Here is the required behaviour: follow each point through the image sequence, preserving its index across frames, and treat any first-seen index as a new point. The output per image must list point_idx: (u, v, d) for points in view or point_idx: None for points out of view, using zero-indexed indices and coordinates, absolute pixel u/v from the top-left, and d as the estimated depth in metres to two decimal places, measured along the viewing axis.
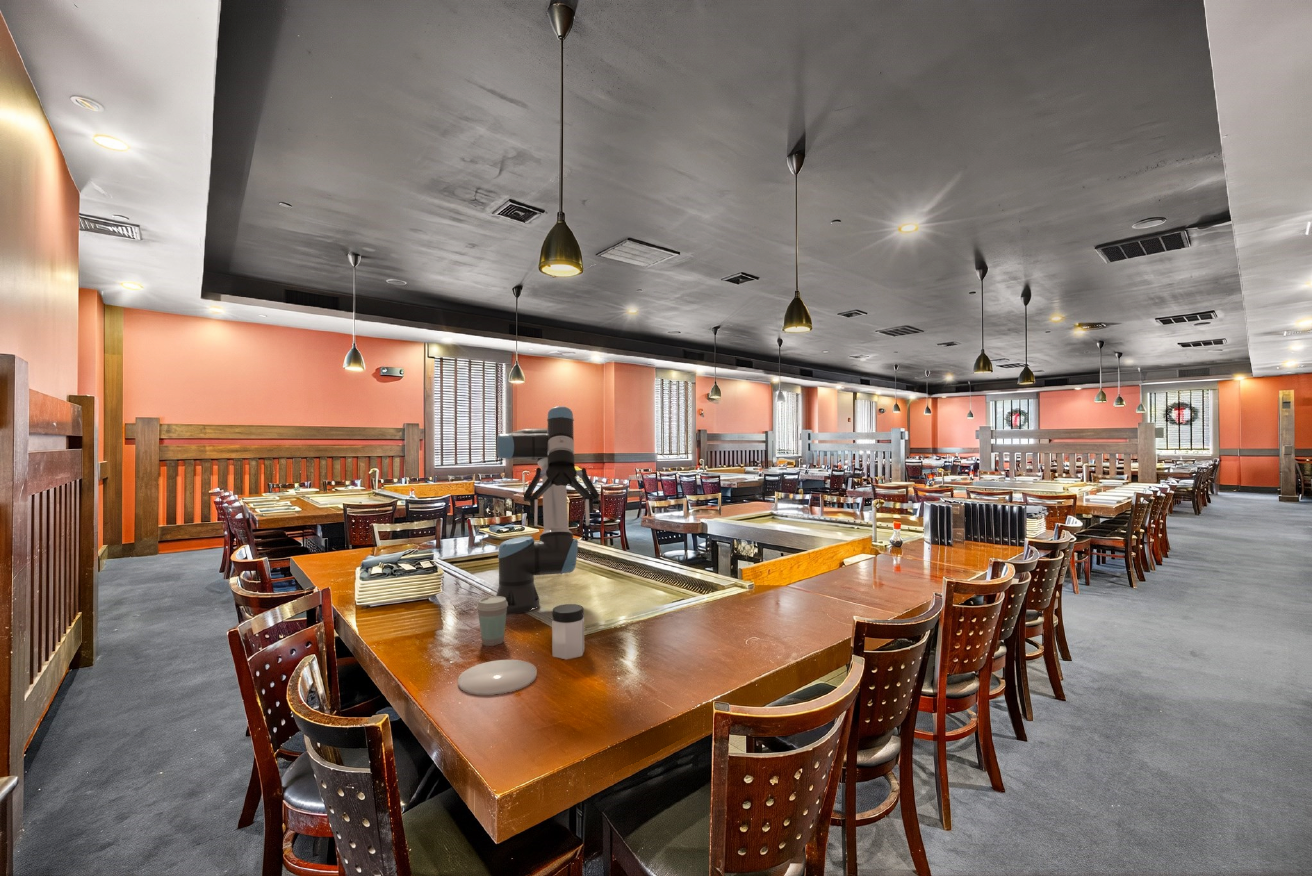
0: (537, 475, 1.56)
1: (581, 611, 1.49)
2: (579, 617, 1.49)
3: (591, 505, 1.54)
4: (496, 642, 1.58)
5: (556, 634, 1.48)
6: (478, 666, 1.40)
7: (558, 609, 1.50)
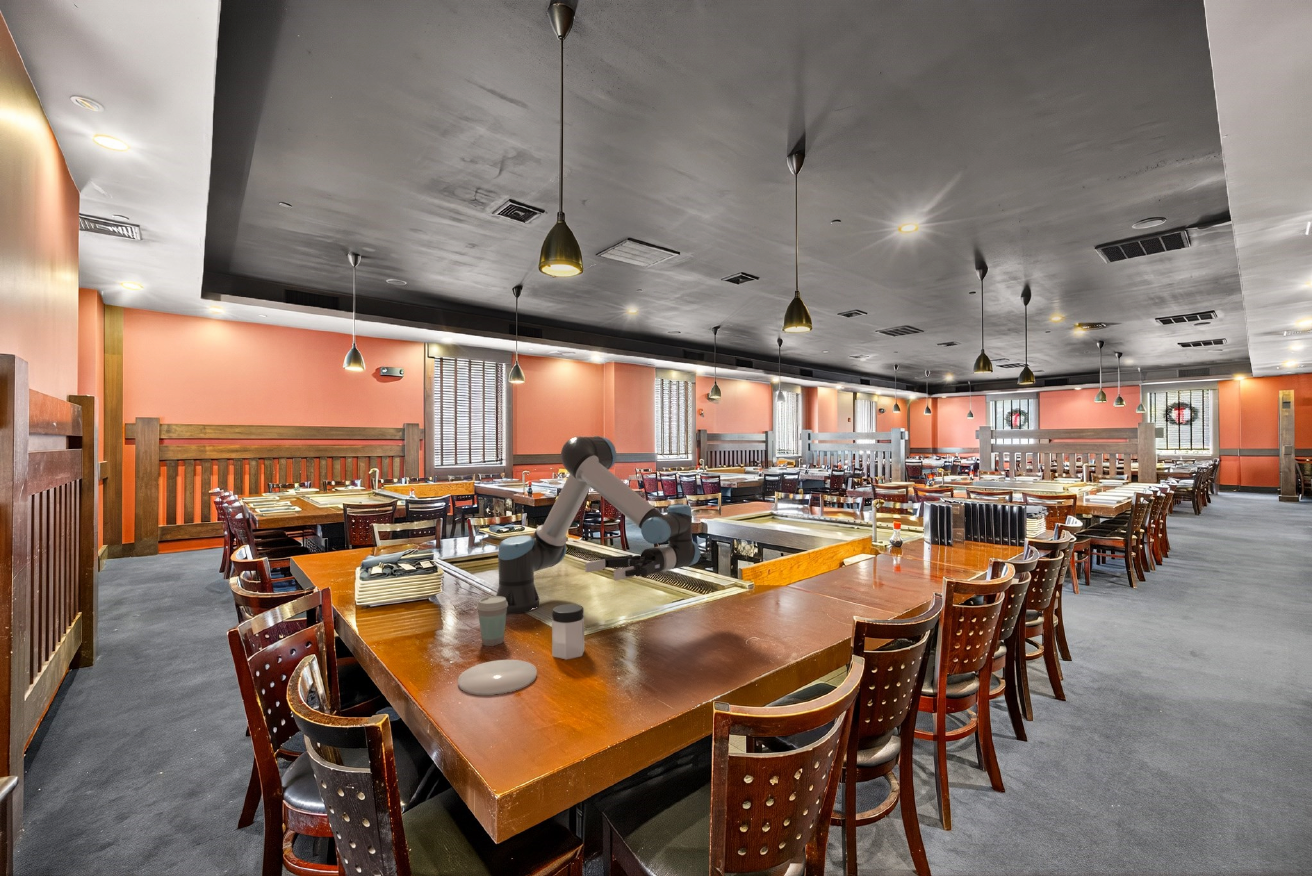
0: None
1: (581, 611, 1.49)
2: (579, 617, 1.49)
3: None
4: (496, 642, 1.58)
5: (556, 634, 1.48)
6: (478, 666, 1.40)
7: (558, 609, 1.50)
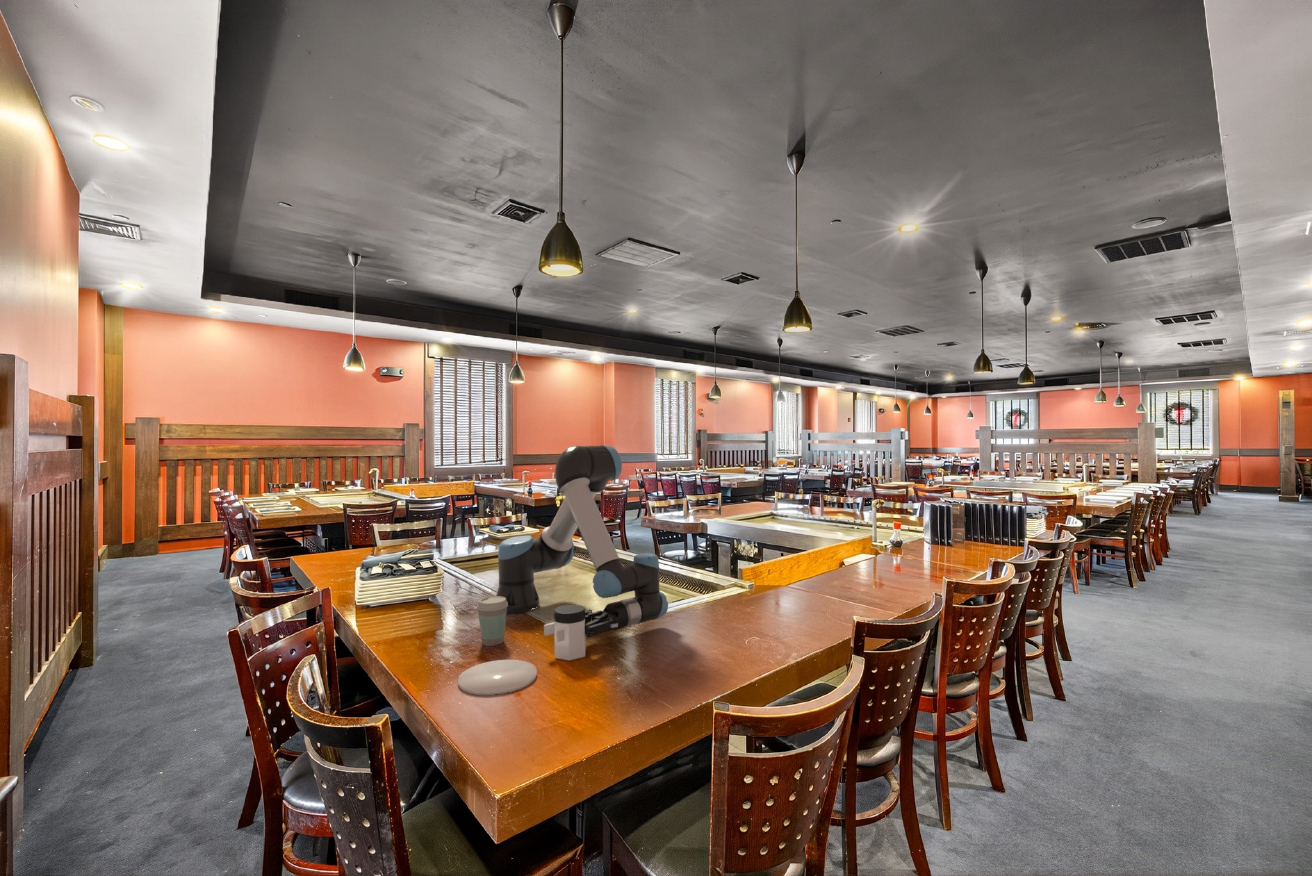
0: None
1: (583, 611, 1.49)
2: (582, 617, 1.48)
3: None
4: (496, 642, 1.58)
5: None
6: (478, 666, 1.40)
7: (560, 610, 1.49)
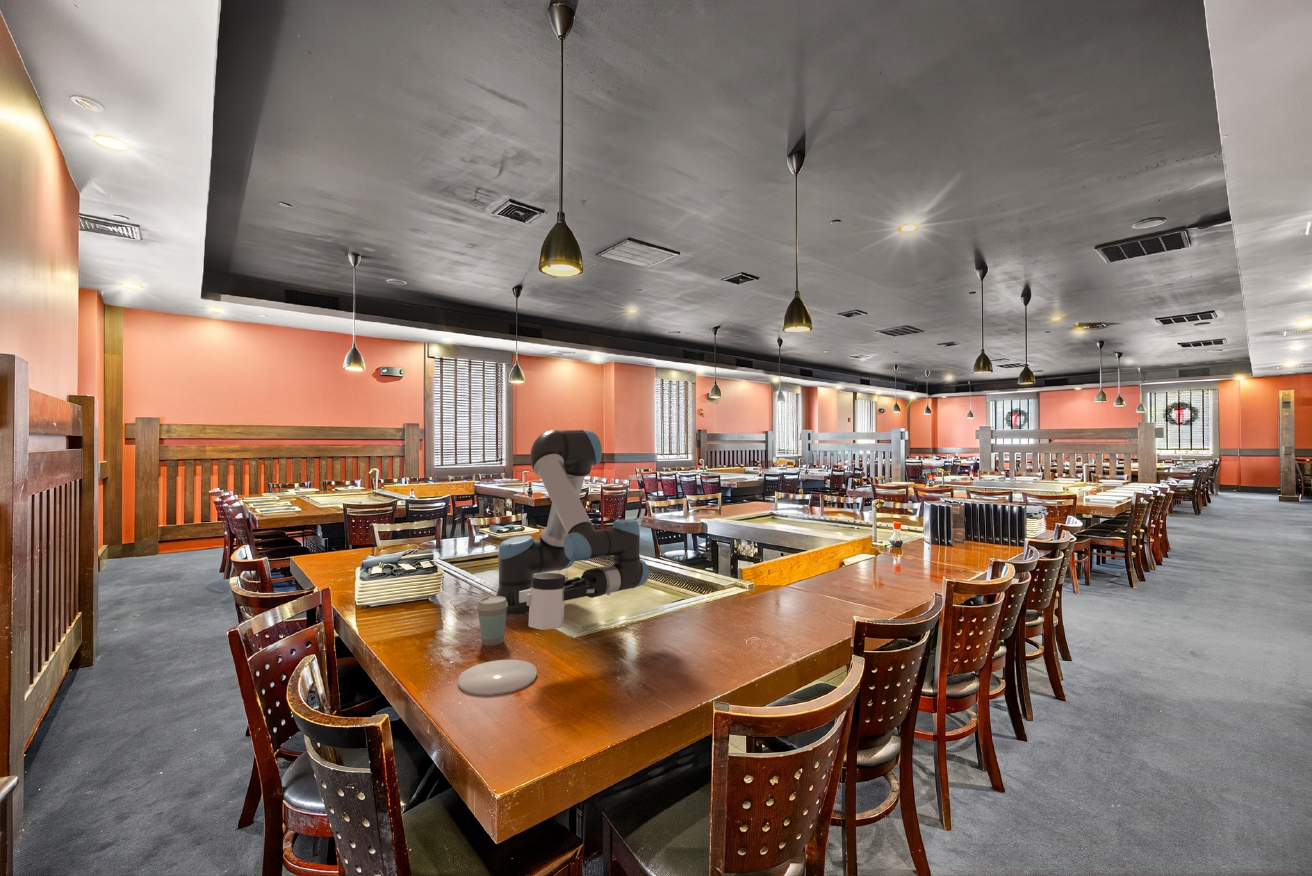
0: None
1: (562, 579, 1.40)
2: (560, 585, 1.39)
3: None
4: (496, 642, 1.58)
5: (534, 602, 1.38)
6: (478, 666, 1.40)
7: (538, 576, 1.40)
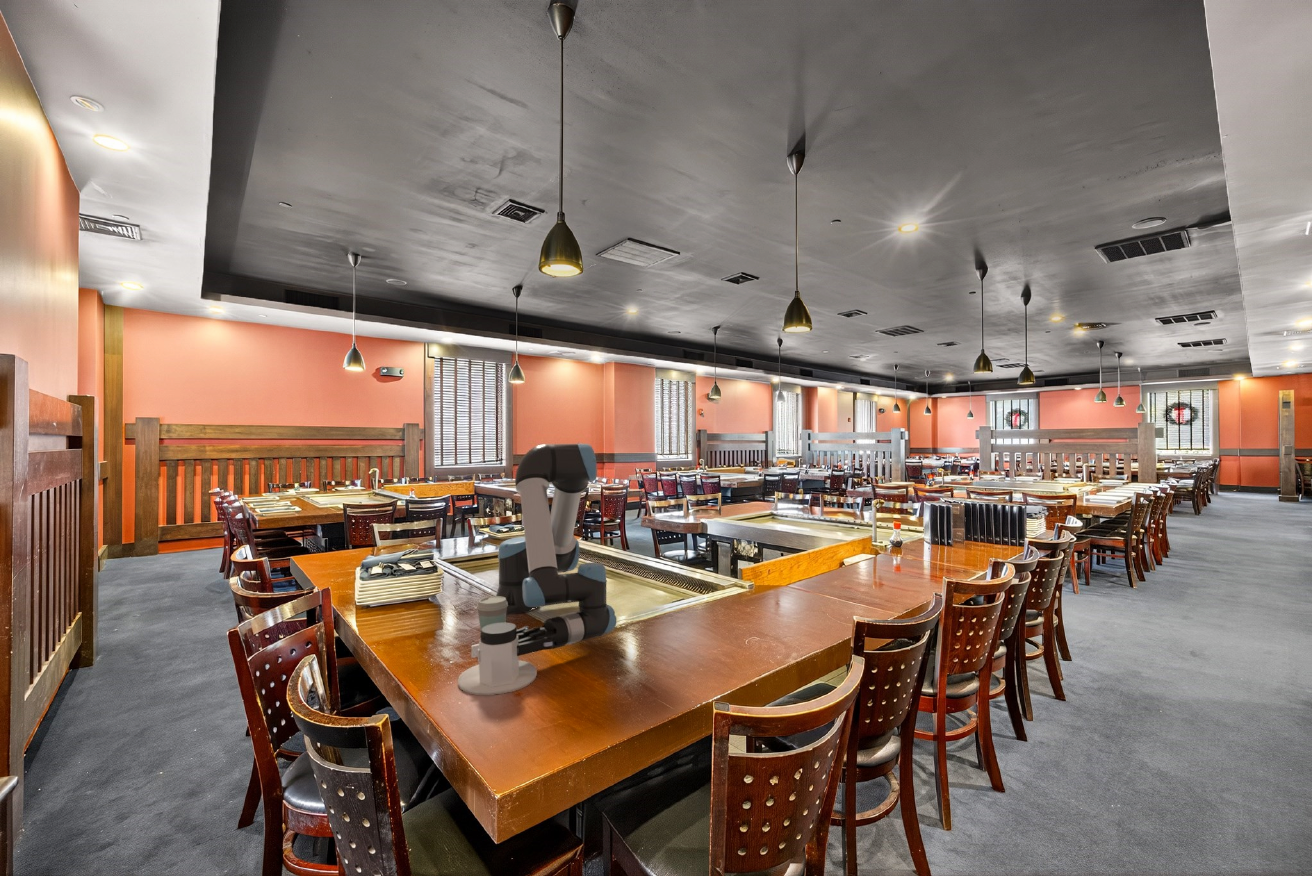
0: None
1: (512, 632, 1.31)
2: (509, 639, 1.30)
3: None
4: None
5: (482, 657, 1.30)
6: (478, 666, 1.40)
7: (487, 629, 1.32)
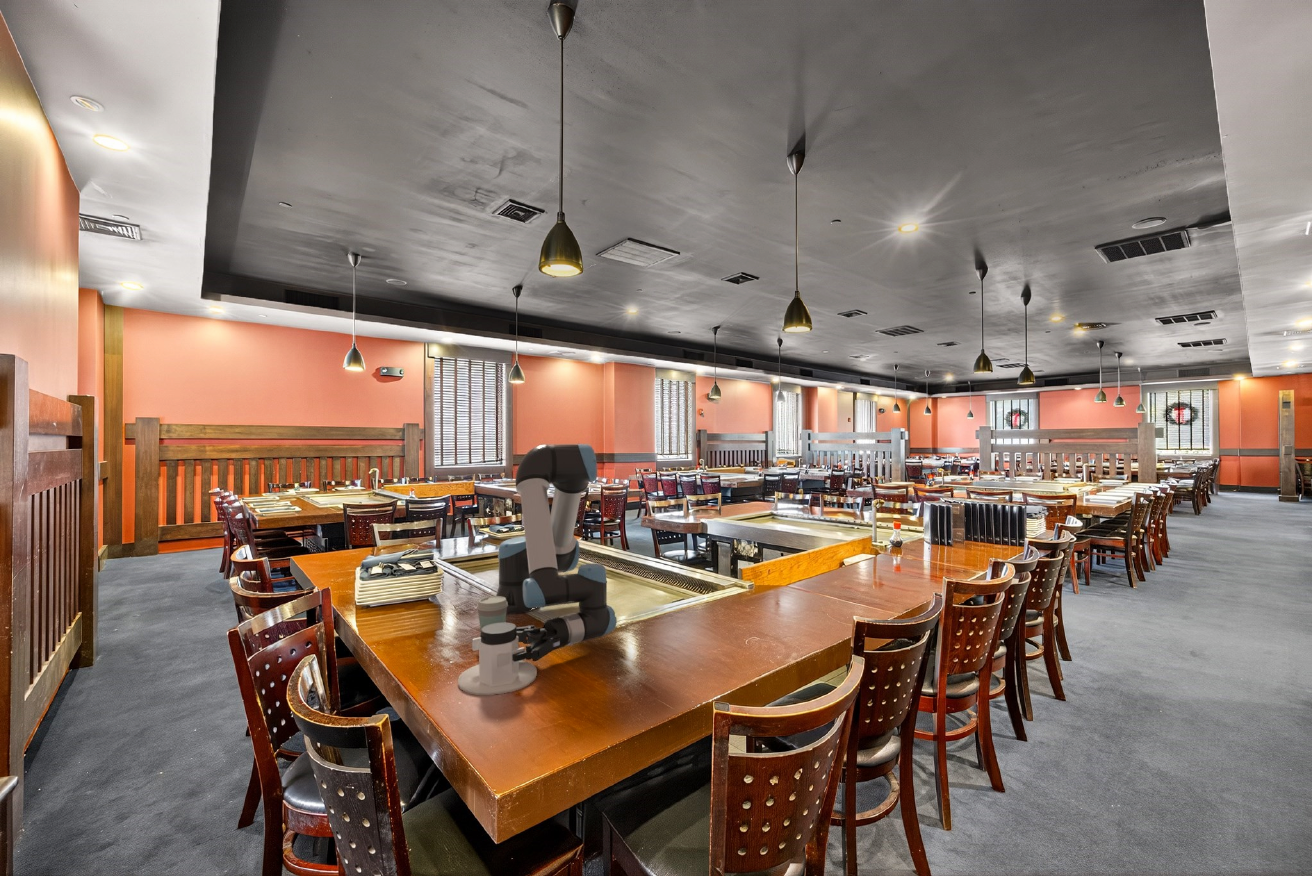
0: None
1: (512, 632, 1.31)
2: (509, 639, 1.30)
3: None
4: None
5: (482, 657, 1.30)
6: (478, 666, 1.40)
7: (487, 629, 1.32)
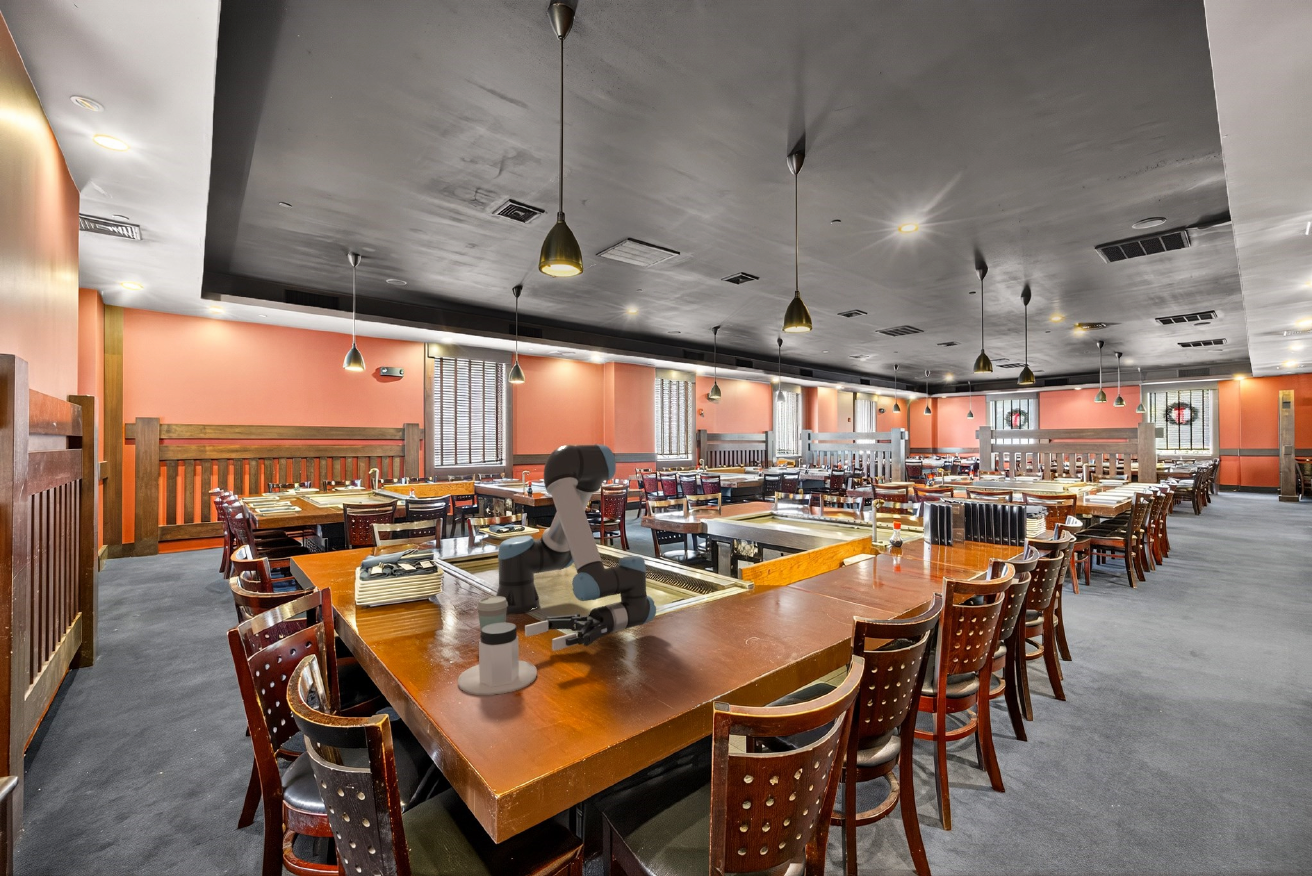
0: None
1: (512, 632, 1.31)
2: (509, 639, 1.30)
3: None
4: None
5: (482, 657, 1.30)
6: (478, 666, 1.40)
7: (487, 629, 1.32)
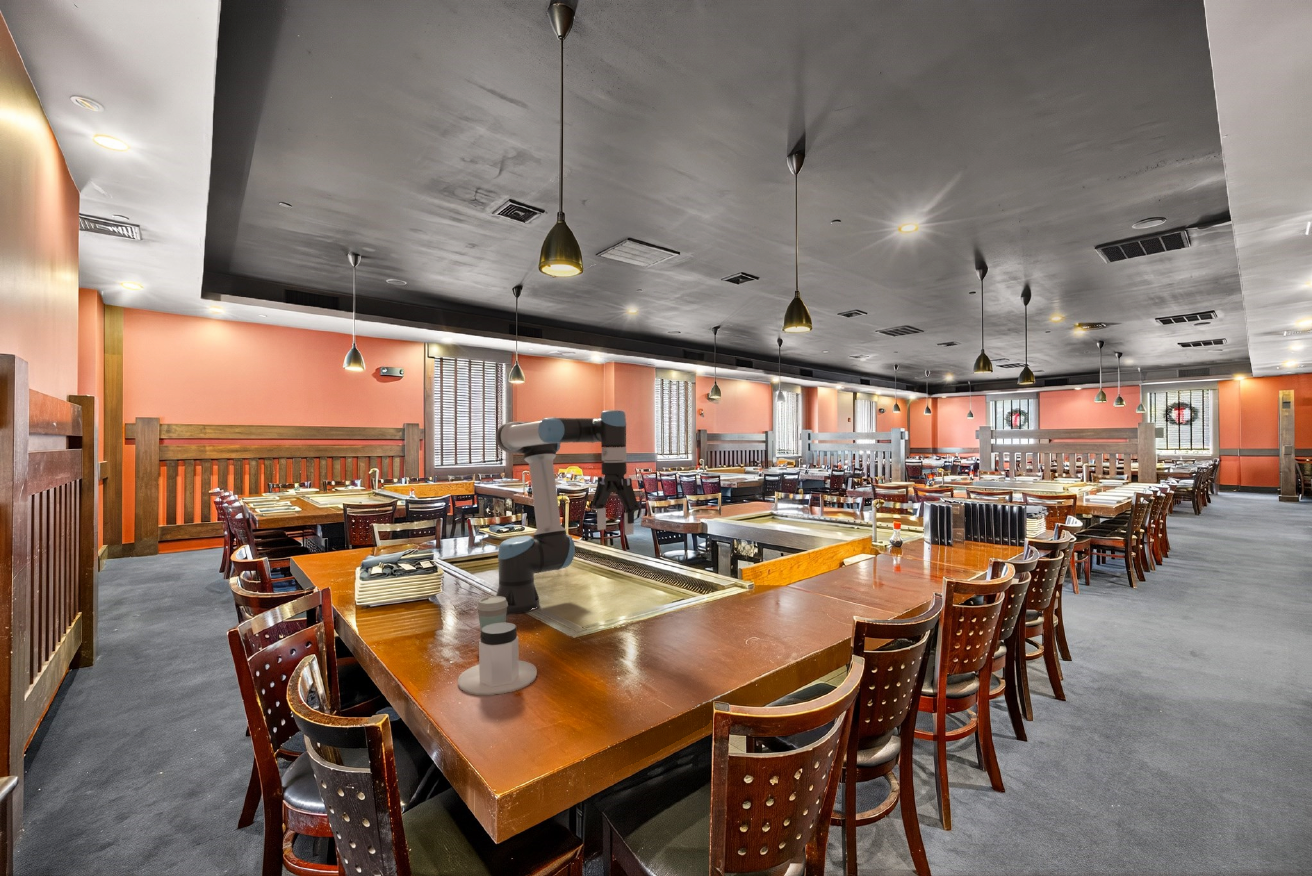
0: (598, 485, 1.76)
1: (512, 632, 1.31)
2: (509, 639, 1.30)
3: (629, 518, 1.65)
4: None
5: (482, 657, 1.30)
6: (478, 666, 1.40)
7: (487, 629, 1.32)
